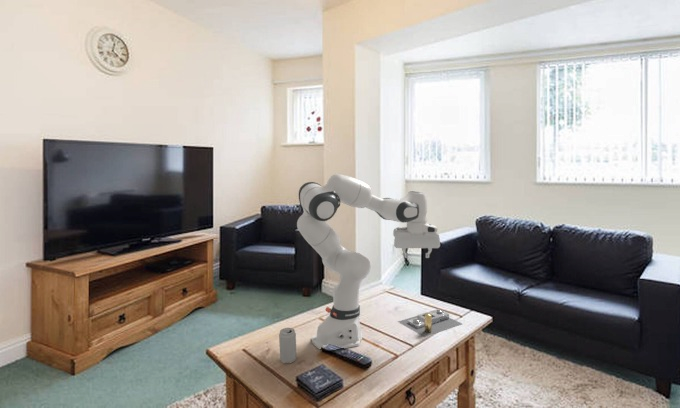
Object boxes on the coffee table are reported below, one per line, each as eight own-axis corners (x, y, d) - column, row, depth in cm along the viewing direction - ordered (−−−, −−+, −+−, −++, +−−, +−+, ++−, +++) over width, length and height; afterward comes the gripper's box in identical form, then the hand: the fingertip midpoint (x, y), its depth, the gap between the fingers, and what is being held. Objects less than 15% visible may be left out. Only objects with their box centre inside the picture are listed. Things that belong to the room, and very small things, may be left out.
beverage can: (291, 365, 137) (290, 335, 135) (276, 362, 139) (275, 333, 138) (299, 357, 142) (298, 328, 141) (285, 354, 145) (284, 325, 143)
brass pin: (427, 333, 159) (428, 316, 158) (423, 331, 162) (423, 313, 161) (432, 331, 161) (433, 314, 160) (428, 329, 163) (428, 312, 162)
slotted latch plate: (417, 328, 164) (417, 321, 164) (407, 322, 170) (407, 316, 170) (449, 318, 174) (449, 312, 174) (438, 313, 180) (438, 307, 180)
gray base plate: (424, 338, 156) (424, 337, 156) (397, 322, 172) (397, 321, 172) (462, 325, 168) (462, 324, 168) (434, 311, 184) (434, 310, 184)
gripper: (393, 228, 159) (393, 259, 161) (440, 228, 157) (440, 259, 158) (393, 226, 165) (393, 255, 167) (438, 226, 163) (438, 255, 165)
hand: (416, 257), depth 163 cm, fingers open, 8 cm apart
